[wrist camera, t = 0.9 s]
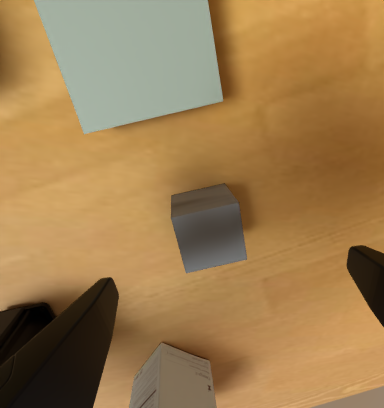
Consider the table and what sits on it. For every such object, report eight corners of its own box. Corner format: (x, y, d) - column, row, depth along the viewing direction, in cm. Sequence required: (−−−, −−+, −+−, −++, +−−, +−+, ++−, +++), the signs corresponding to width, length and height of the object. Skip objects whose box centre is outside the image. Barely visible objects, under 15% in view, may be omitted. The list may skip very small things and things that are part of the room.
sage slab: (216, 102, 17) (223, 101, 15) (96, 131, 17) (84, 133, 15) (189, -60, 14) (193, -96, 11) (40, -25, 14) (14, -53, 11)
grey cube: (232, 230, 23) (247, 259, 19) (183, 241, 23) (186, 273, 19) (224, 183, 21) (238, 202, 17) (171, 195, 22) (171, 217, 17)
